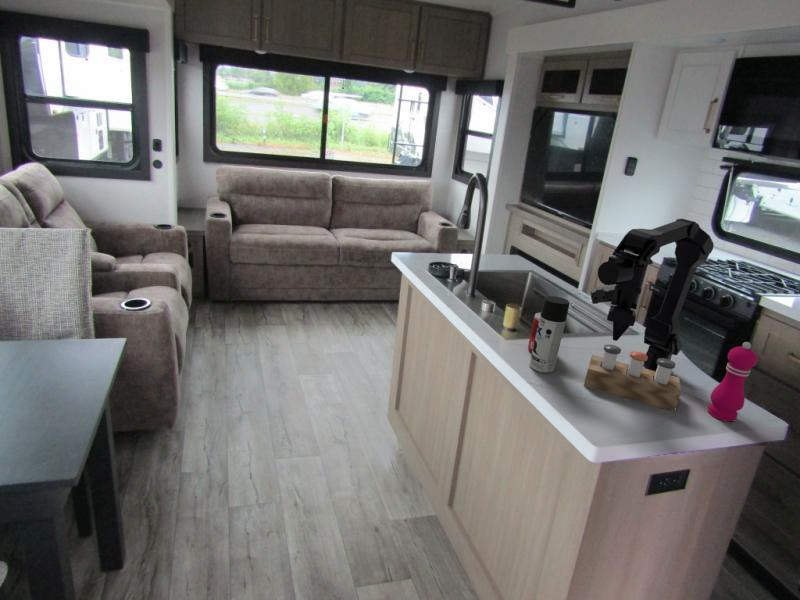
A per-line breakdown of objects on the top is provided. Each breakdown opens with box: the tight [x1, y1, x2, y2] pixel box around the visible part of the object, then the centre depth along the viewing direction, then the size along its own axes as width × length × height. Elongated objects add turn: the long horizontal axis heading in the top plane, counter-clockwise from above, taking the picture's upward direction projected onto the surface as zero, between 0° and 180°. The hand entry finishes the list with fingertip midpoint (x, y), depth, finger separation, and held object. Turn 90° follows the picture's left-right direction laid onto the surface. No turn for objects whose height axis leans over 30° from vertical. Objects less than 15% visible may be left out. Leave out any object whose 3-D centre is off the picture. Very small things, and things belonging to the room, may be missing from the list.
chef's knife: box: [680, 383, 712, 404], centre depth 149 cm, size 19×1×3 cm
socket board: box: [583, 354, 681, 412], centre depth 144 cm, size 22×10×5 cm, turn 66°
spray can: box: [529, 295, 571, 374], centre depth 148 cm, size 7×7×20 cm
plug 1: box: [601, 343, 622, 370], centre depth 145 cm, size 4×4×7 cm
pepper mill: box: [707, 341, 758, 422], centre depth 134 cm, size 7×7×20 cm
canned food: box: [527, 312, 541, 354], centre depth 160 cm, size 8×8×11 cm
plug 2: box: [653, 358, 677, 385], centre depth 140 cm, size 4×4×7 cm
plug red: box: [627, 350, 648, 378], centre depth 143 cm, size 4×4×7 cm
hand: (615, 338), depth 143 cm, fingers open, 3 cm apart
